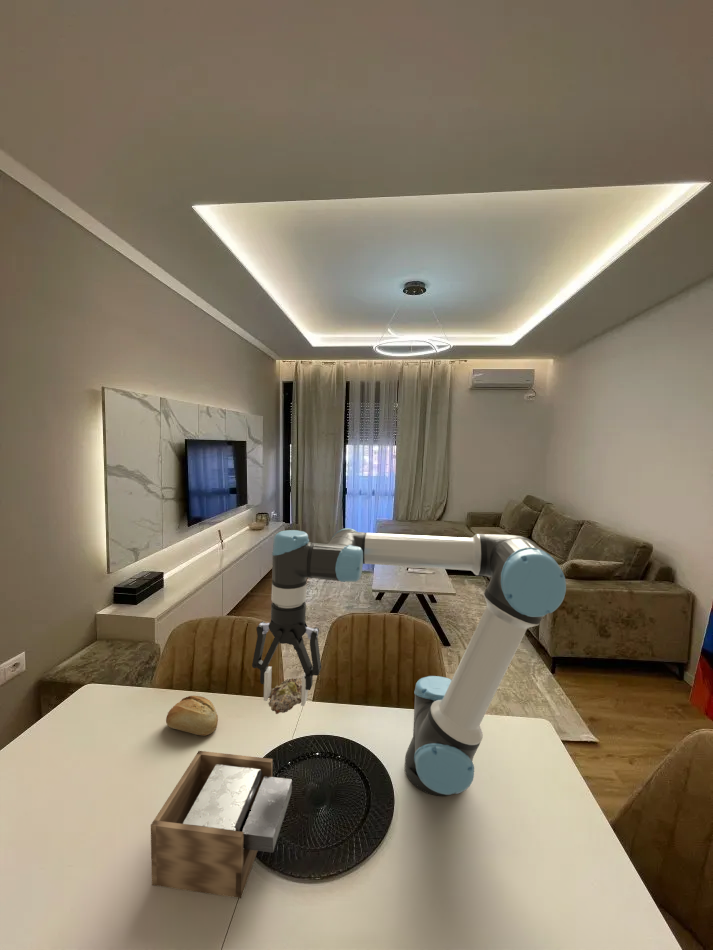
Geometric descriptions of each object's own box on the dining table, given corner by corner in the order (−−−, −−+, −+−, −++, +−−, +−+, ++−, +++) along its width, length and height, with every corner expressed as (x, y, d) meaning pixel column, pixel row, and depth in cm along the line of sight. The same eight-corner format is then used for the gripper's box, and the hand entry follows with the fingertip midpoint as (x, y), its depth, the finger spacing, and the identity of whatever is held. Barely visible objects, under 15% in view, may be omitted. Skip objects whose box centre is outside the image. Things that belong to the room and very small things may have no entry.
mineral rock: (278, 673, 100) (308, 671, 97) (282, 690, 100) (312, 688, 97) (255, 701, 89) (288, 700, 87) (260, 720, 90) (293, 719, 87)
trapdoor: (182, 843, 77) (182, 823, 76) (216, 781, 91) (216, 763, 90) (272, 855, 75) (272, 834, 75) (292, 790, 89) (292, 772, 89)
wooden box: (272, 809, 92) (272, 758, 91) (241, 898, 74) (241, 837, 73) (199, 800, 94) (198, 750, 93) (151, 885, 76) (150, 825, 75)
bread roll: (178, 712, 123) (178, 687, 122) (225, 720, 120) (225, 694, 120) (157, 735, 114) (157, 708, 113) (208, 744, 111) (208, 716, 110)
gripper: (338, 599, 93) (334, 695, 95) (250, 590, 96) (248, 683, 98) (331, 613, 86) (327, 716, 88) (236, 603, 89) (234, 704, 91)
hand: (285, 699), depth 93 cm, fingers closed on mineral rock, 8 cm apart
